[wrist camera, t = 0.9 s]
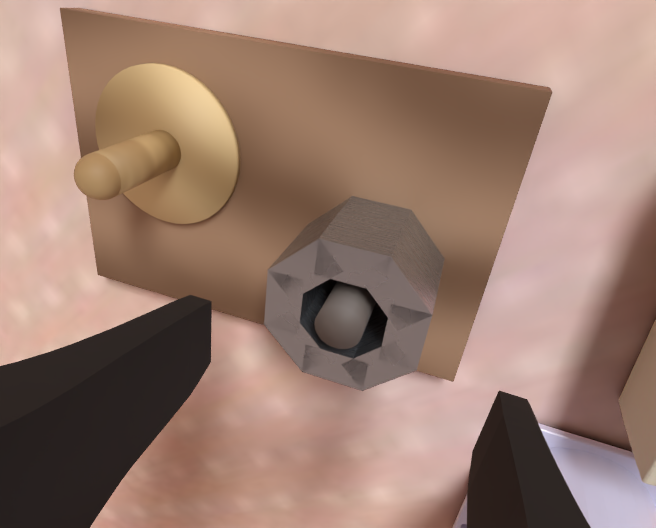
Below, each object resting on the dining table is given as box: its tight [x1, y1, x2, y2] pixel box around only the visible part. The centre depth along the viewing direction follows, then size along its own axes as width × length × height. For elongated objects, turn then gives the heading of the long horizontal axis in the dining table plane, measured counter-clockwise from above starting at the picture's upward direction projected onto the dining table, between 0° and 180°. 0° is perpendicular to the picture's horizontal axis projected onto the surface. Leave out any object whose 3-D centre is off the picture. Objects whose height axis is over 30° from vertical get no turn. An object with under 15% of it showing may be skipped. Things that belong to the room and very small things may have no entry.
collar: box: [264, 196, 445, 391], centre depth 18 cm, size 6×6×4 cm
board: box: [60, 8, 552, 381], centre depth 18 cm, size 12×18×6 cm, turn 82°
